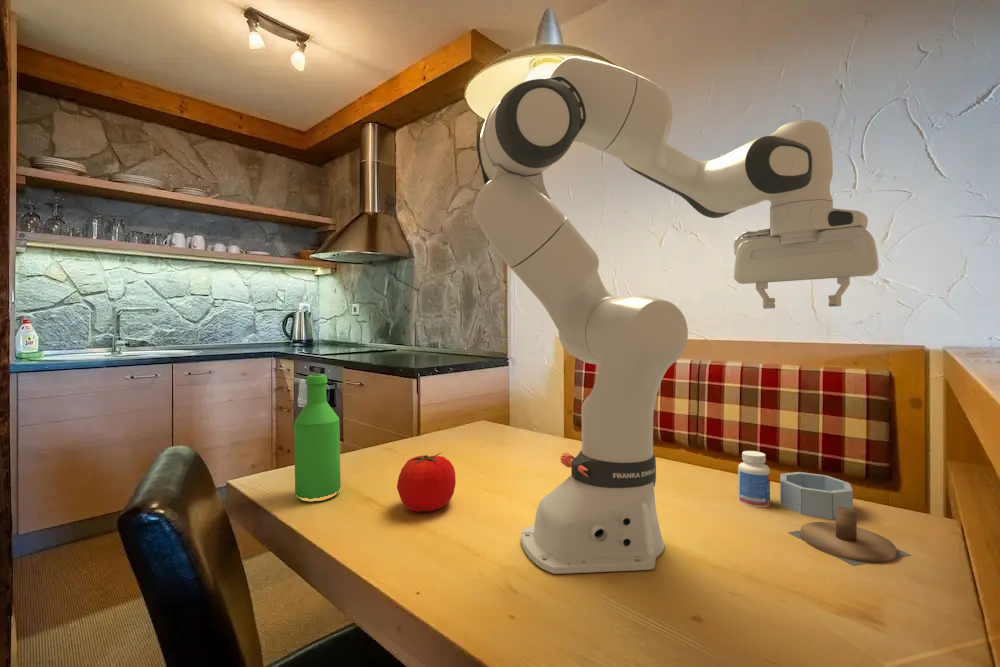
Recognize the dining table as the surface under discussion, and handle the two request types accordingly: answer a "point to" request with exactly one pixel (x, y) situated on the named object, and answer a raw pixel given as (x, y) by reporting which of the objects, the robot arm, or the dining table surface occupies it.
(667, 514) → the dining table surface
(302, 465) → the bottle
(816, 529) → the lid
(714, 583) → the dining table surface
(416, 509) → the tomato
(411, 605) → the dining table surface
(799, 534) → the mat
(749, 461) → the pill bottle
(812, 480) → the bowl
